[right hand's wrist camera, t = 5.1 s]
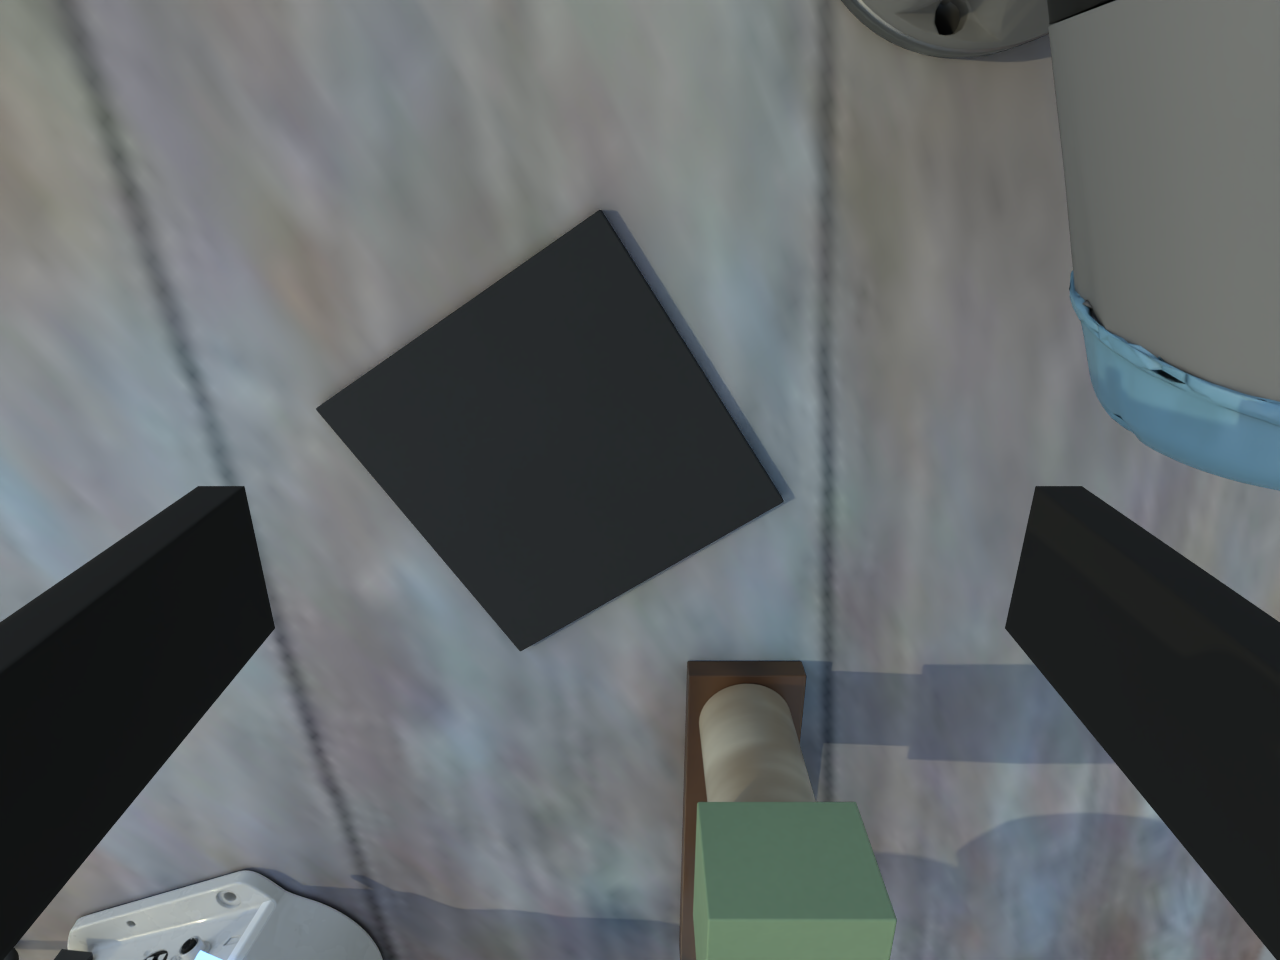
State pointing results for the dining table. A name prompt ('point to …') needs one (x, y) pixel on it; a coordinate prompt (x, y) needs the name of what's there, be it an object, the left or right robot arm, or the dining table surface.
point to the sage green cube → (788, 884)
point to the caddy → (738, 749)
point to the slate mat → (555, 438)
